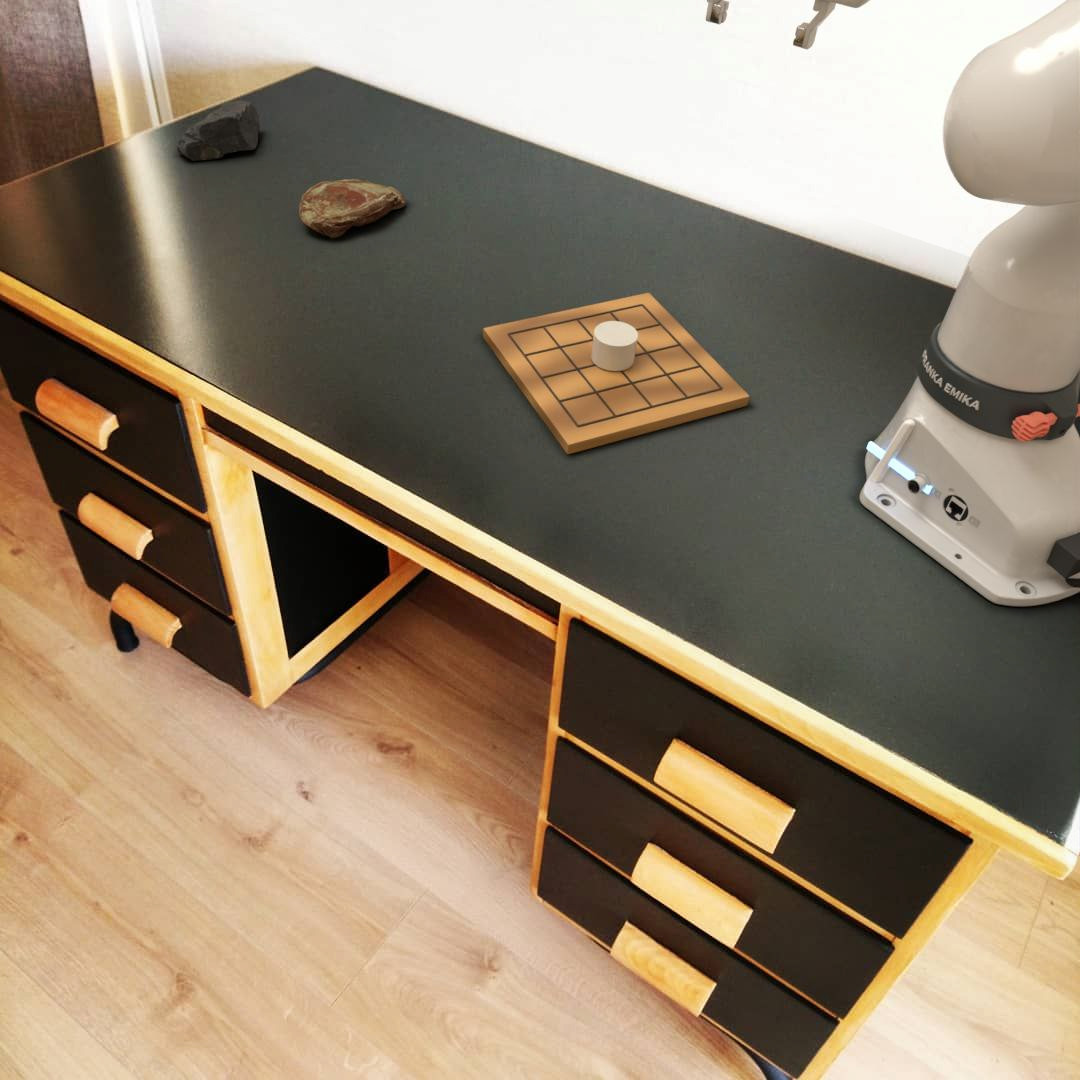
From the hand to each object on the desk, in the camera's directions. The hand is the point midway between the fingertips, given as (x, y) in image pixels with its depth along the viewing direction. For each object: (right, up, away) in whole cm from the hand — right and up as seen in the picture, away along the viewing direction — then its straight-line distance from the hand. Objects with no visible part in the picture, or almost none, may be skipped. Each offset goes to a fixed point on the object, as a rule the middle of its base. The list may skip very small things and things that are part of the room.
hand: (758, 33), depth 92 cm
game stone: (-14, -31, +3) cm, 34 cm away
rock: (-64, +3, +34) cm, 72 cm away
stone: (-45, -10, +23) cm, 51 cm away
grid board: (-14, -32, +4) cm, 36 cm away
